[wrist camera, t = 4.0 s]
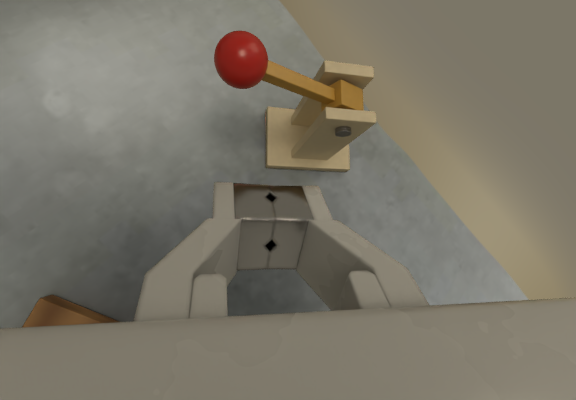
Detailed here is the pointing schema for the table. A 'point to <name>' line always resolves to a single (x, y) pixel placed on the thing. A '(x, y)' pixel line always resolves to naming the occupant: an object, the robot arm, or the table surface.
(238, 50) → the lever
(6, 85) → the table surface
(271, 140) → the bracket
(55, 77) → the table surface
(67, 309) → the switch block
